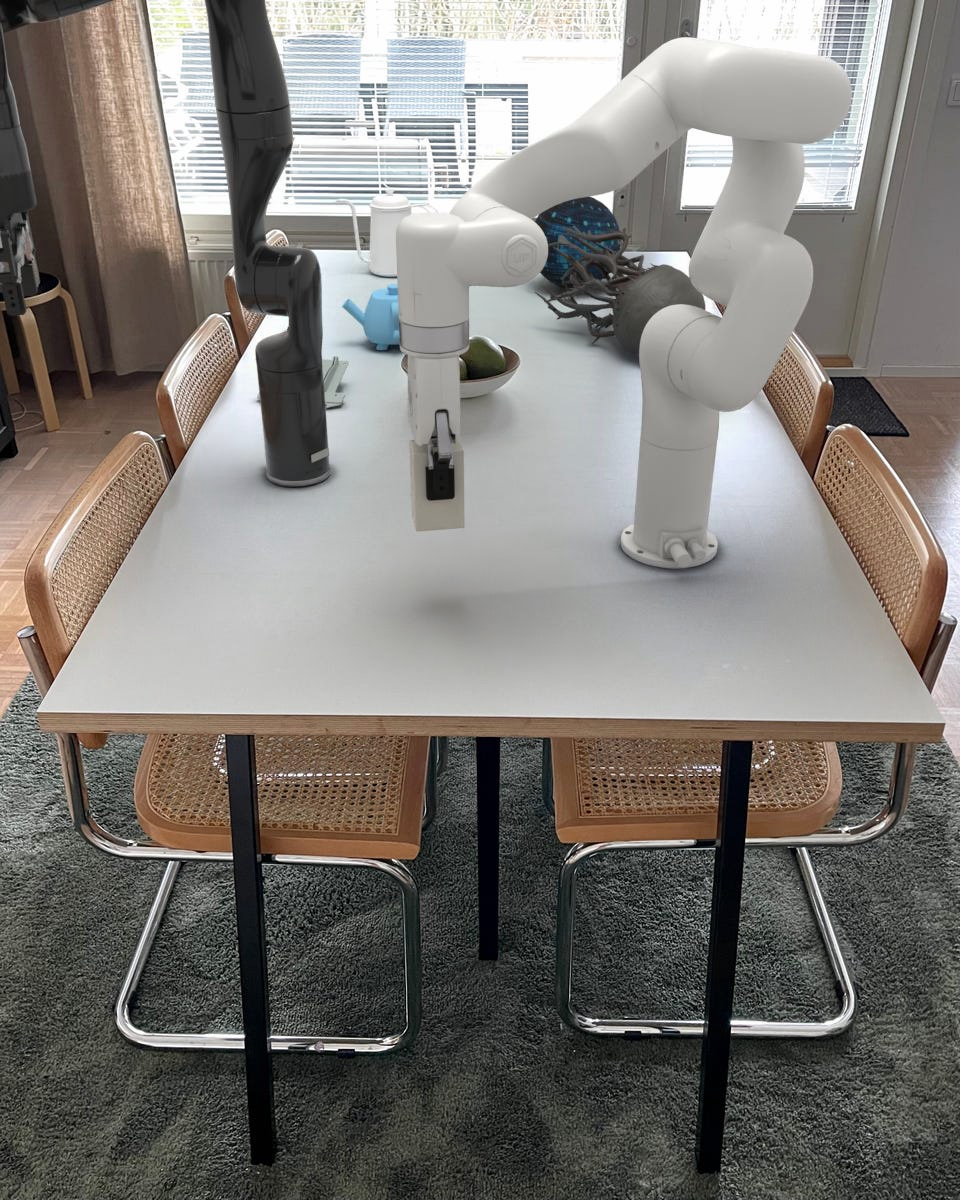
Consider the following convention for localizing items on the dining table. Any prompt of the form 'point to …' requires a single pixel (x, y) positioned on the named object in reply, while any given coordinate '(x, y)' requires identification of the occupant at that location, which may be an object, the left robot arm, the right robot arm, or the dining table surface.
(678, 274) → the sculpture
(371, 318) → the teapot
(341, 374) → the metal bracket
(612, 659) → the dining table surface
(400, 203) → the coffeepot
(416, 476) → the block
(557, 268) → the decorative sphere
